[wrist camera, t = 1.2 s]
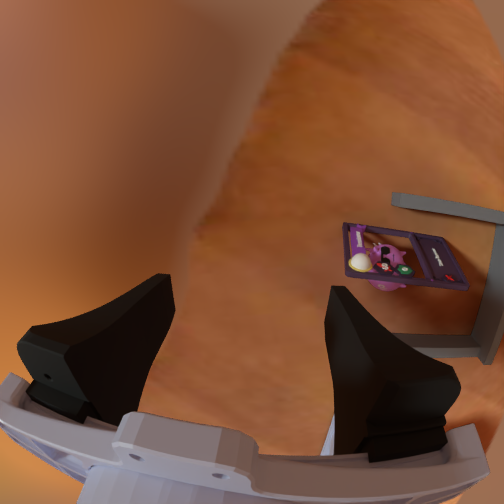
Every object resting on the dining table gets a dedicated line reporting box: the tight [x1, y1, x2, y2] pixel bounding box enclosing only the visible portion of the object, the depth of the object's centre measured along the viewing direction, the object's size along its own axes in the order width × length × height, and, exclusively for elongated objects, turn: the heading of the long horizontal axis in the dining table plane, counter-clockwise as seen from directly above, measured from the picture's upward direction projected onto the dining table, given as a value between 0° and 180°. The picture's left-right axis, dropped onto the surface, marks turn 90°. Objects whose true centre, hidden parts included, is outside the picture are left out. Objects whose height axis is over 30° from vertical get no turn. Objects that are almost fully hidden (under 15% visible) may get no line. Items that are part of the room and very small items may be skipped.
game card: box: [342, 222, 470, 291], centre depth 20 cm, size 7×5×9 cm
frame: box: [391, 192, 504, 365], centre depth 19 cm, size 13×12×4 cm
